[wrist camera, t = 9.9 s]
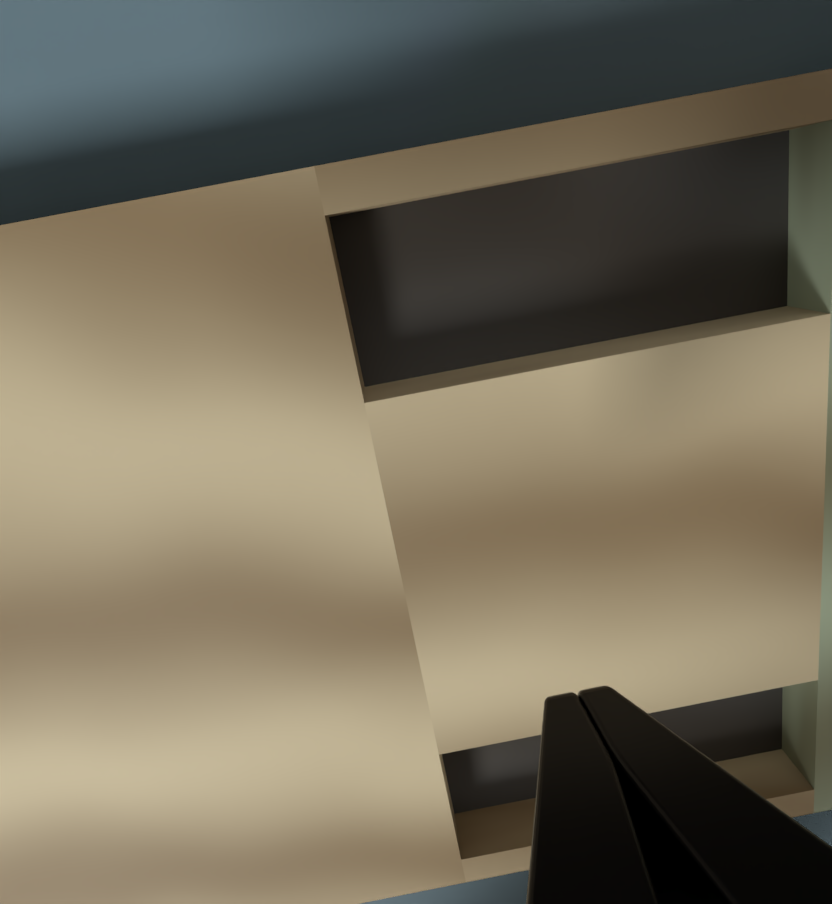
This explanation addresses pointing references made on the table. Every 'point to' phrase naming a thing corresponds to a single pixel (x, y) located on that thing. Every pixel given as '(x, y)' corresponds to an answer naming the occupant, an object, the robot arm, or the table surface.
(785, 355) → the trap board
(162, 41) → the table surface
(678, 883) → the robot arm
